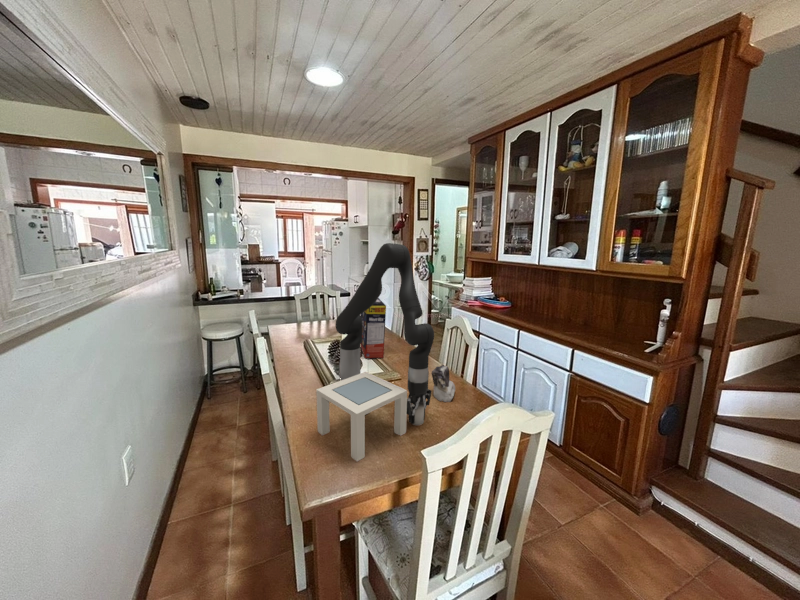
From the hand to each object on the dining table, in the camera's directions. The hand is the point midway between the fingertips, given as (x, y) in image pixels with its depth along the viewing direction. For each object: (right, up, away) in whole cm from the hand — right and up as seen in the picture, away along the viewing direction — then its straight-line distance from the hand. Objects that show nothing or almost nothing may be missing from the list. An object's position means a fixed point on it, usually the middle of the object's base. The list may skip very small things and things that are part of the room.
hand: (416, 419), depth 124 cm
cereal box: (-23, +14, +74) cm, 79 cm away
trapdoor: (-19, +13, -10) cm, 25 cm away
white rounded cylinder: (0, -1, 0) cm, 1 cm away
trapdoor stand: (-20, -2, -7) cm, 21 cm away
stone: (+12, +3, +21) cm, 25 cm away
